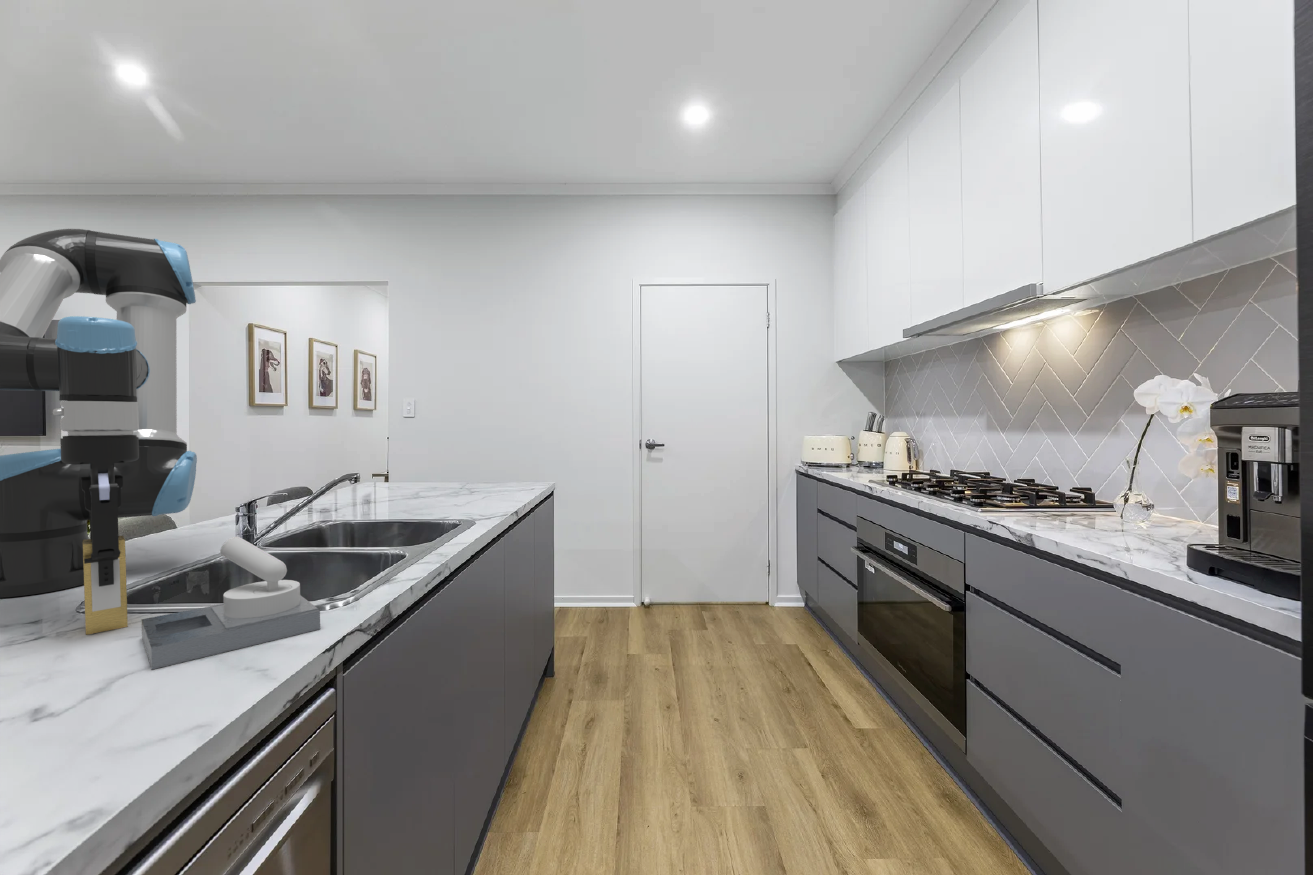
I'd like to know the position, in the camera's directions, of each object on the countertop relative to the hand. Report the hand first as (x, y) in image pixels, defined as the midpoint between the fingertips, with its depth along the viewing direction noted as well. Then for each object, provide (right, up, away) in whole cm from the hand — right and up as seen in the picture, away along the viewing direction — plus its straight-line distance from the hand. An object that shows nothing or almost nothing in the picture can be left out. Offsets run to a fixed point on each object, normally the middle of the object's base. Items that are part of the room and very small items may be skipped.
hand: (105, 603), depth 76 cm
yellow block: (0, -3, 0) cm, 3 cm away
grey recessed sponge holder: (+19, -3, -2) cm, 20 cm away
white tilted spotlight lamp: (+21, -1, +1) cm, 21 cm away
